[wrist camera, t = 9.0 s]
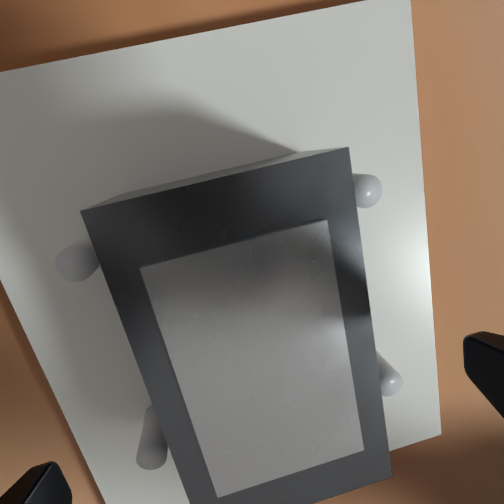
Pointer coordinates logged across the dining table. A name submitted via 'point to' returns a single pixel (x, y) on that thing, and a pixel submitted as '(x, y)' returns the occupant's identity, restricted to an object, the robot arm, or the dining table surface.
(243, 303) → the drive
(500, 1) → the dining table surface
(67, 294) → the tray
